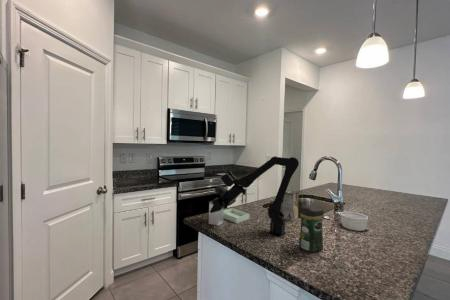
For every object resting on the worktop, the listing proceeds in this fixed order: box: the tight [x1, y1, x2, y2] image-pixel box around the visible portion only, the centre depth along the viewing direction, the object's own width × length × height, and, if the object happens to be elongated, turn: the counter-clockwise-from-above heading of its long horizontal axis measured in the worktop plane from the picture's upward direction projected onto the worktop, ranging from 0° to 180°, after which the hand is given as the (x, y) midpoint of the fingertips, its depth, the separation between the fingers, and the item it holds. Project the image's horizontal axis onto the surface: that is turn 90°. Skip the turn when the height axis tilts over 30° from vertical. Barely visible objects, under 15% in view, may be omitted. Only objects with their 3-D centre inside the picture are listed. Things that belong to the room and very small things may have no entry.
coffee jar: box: [298, 204, 325, 253], centre depth 92 cm, size 10×8×19 cm
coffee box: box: [282, 190, 300, 222], centre depth 130 cm, size 9×6×16 cm
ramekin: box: [340, 211, 369, 232], centre depth 118 cm, size 13×13×7 cm
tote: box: [223, 207, 250, 224], centre depth 128 cm, size 15×11×3 cm
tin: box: [208, 200, 225, 226], centre depth 119 cm, size 6×6×12 cm
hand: (214, 210), depth 119 cm, fingers open, 9 cm apart
